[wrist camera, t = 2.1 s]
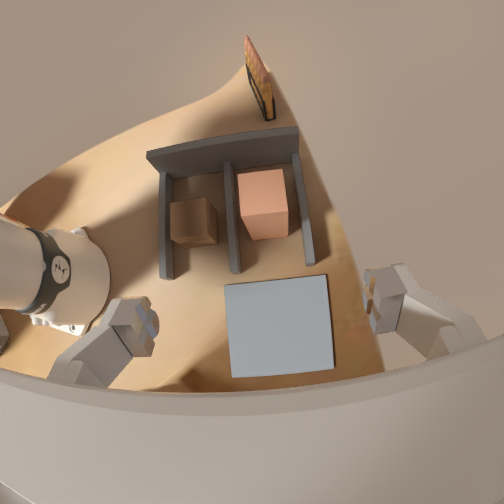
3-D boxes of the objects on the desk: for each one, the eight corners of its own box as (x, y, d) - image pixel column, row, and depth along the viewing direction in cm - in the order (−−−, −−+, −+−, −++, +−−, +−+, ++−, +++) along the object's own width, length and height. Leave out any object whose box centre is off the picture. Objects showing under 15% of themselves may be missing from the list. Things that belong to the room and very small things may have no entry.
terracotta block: (252, 240, 42) (240, 216, 31) (249, 207, 43) (237, 174, 32) (287, 236, 41) (288, 210, 30) (283, 203, 42) (282, 168, 31)
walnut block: (185, 248, 43) (170, 238, 37) (184, 216, 44) (170, 202, 38) (218, 244, 42) (207, 234, 36) (216, 211, 43) (205, 197, 37)
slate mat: (232, 376, 38) (232, 377, 38) (224, 285, 41) (223, 285, 40) (333, 367, 37) (333, 368, 36) (325, 275, 39) (325, 274, 39)
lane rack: (168, 280, 42) (143, 273, 34) (167, 174, 45) (146, 151, 38) (313, 265, 40) (319, 255, 32) (296, 155, 43) (297, 126, 35)
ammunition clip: (276, 118, 45) (271, 69, 33) (265, 121, 45) (258, 72, 33) (258, 78, 47) (250, 31, 36) (248, 81, 47) (239, 34, 36)
